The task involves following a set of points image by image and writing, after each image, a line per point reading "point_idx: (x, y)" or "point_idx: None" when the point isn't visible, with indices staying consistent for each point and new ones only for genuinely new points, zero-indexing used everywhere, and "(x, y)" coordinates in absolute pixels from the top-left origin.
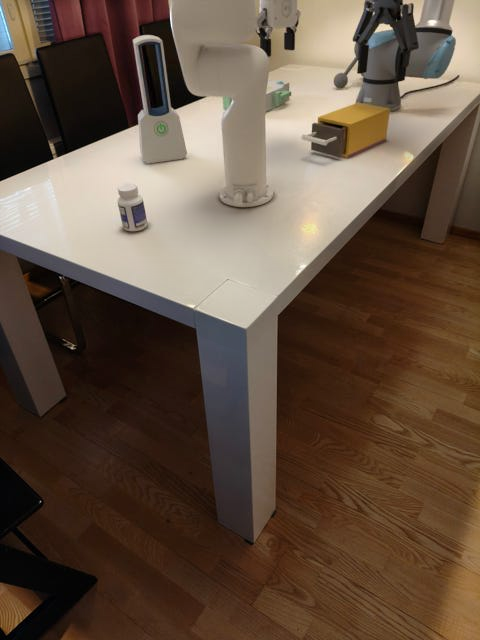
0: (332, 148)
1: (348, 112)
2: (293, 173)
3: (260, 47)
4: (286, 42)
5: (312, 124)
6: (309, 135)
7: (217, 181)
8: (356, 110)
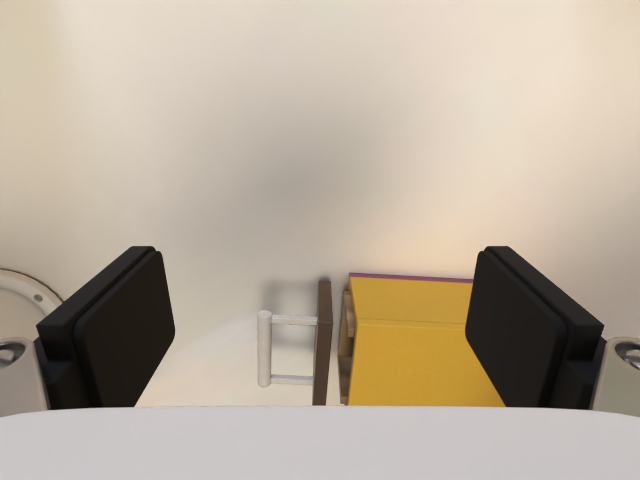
0: (314, 352)
1: (451, 369)
2: (183, 320)
3: (98, 277)
4: (501, 303)
5: (318, 321)
6: (283, 323)
7: (3, 211)
8: (484, 376)
